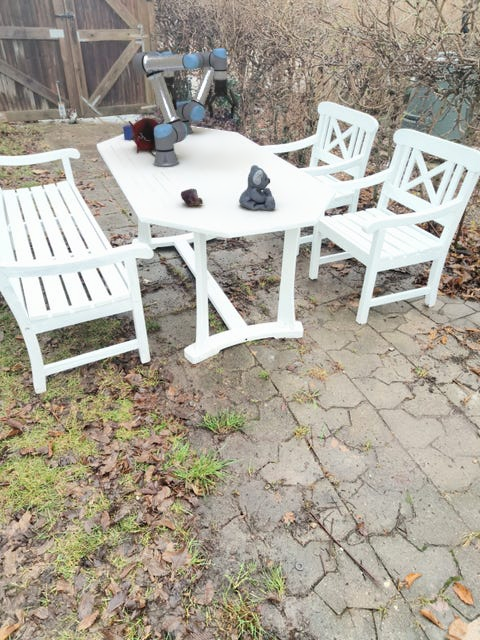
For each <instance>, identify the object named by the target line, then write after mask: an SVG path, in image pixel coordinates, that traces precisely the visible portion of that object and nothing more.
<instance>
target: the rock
mask: <svg viewBox="0 0 480 640" xmlns="http://www.w3.org/2000/svg"><path fill="white" fill-rule="evenodd" d="M180 197H181V200H182V201H183V202H184V203H185V205H187V206H189V207H191V206H192V207H193V206H201V205H203V204H204V202H203V199H202V197H199V195H198V190H197V189H196V188H188V189H185V190H181V192H180Z"/></svg>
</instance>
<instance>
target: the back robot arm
mask: <svg viewBox="0 0 480 640" xmlns="http://www.w3.org/2000/svg"><path fill="white" fill-rule="evenodd" d="M196 53H197V52H194V53H193V54H196ZM160 54H161V56H162V55H181V54H182V53H173V52H172V51H162V52H161V53H160ZM201 69H203V70H204V71H203V74H202V76H201V78H200V81H199V84H198V86H197V89H196V91H195V94H194V96H193V98H192V99H190V102H189V101H188V100H183V101H177V100H178V95H177V91H176V85H175V84H174V83H175V82H176V80H175V79H176V78H175V70H164V75H163V77H164V80H165V83H166V86H167V89H168V92H169V95H170V97H171V101H172V103H173V106H174V109H175V112H176V115H177V117H179V118H180V120H181V122H183V123H184V124H185V125H186V127H187V135H190V134H192V133H193V127H192V125H191V122H190V121H193V122H200V121H202V120H203V119H204V118H205V114H206V113H205V112H206V110H205V105H204V104H205V102H206V100H207V97H208V95H209V91H210V88H211V86H212V84H213V81H214V80H215V78H214V67H204V68H201Z"/></svg>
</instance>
